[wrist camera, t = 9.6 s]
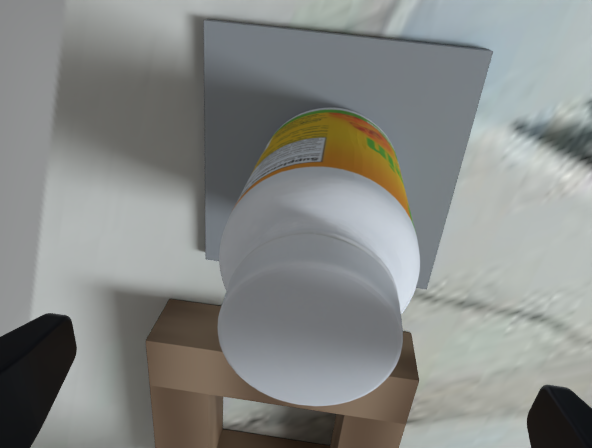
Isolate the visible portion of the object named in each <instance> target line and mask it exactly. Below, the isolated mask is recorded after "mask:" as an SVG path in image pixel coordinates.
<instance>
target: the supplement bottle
mask: <svg viewBox="0 0 592 448" xmlns="http://www.w3.org/2000/svg"><path fill="white" fill-rule="evenodd" d="M219 263H220V271H221V276H222V280H223V283H224V286H225V288H226V294H225V297H224V300H223V303H222V306H221V309H220V312H219V316H218V337H219V342H220V346H221V349H222V351H223V354H224V356H225V358H226V360H227V361H228V363H229V364H230V366H231V367H232V368H233V369H234V371H235V372H236V373H237V374H238V375H239V376H240V377H241V378H242V379H243V380H244V381H245V382H247V383H248V384H249V385H251V386H252V387H254V388H255V389H257V390H258V391H260V392H262V393H264V394H266V395H268V396H270V397H273V398H275V399H278V400H281V401H284V402H288V403H292V404H298V405H307V406H328V405H337V404H341V403H346V402H350V401H352V400H355V399H358V398H360V397H362V396H365V395H367V394H368V393H370V392H372V391H373V390H375V389H376V388H377V387H378V386H379V385H381V384H382V383H383V382H384V381H385V380H386V379H387V378H388V377H389V375H390V374H391V373H392V371H393V370H394V368H395V366H396V365H397V362H398V360H399V357H400V354H401V349H402V344H403V330H402V319H401V314H402V313H403V311H404V310H405V308H406V307H407V305H408V304H409V302H410V300H411V298H412V296H413V294H414V292H415V289H416V285H417V282H418V278H419V272H420V254H419V247H418V240H417V235H416V231H415V227H414V223H413V220H412V216H411V212H410V208H409V204H408V200H407V196H406V192H405V188H404V183H403V179H402V175H401V171H400V166H399V162H398V159H397V156H396V153H395V150H394V148H393V146H392V144H391V142H390V140H389V138H388V137H387V135H386V134H385V133H384V132H383V131H382V130H381V128H380V127H378V126H377V125H376V124H375V123H374V122H372V121H371V120H370V119H368V118H366V117H365V116H363V115H361V114H359V113H356V112H354V111H351V110H347V109H342V108H331V107H330V108H319V109H313V110H310V111H306V112H303V113H301V114H299V115H297V116H295V117H293V118H291V119H290V120H288V121H287V122H286V123H284V124H283V125H282V126H281V127H280V128H279V129H278V130H277V131H276V132H275V134H274V135H273V136H272V138H271V139H270V140H269V142H268V144H267V145H266V147H265V149H264V151H263V152H262V154H261V156H260V158H259V160H258V162H257V164H256V166H255V168H254V170H253V172H252V174H251V176H250V178H249V179H248V181H247V183H246V185H245V187H244V189H243V191H242V193H241V195H240V197H239V199H238V201H237V203H236V204H235V206H234V208H233V210H232V212H231V214H230V216H229V218H228V221H227V223H226V226H225V228H224V231H223V234H222V238H221V243H220V252H219Z"/></svg>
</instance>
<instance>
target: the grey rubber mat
mask: <svg viewBox="0 0 592 448" xmlns="http://www.w3.org/2000/svg"><path fill="white" fill-rule="evenodd" d="M492 54H493V51H491V50H489V49H479V48H470V47H461V46H452V45H442V44H433V43H424V42H414V41H405V40H396V39H387V38H377V37H368V36H359V35H349V34H340V33H331V32H321V31H312V30H303V29H294V28H284V27H275V26H266V25H256V24H247V23H238V22H228V21H219V20H210V19H207V20H204V112H205V244H206V259H208V260H215V261H219V252H220V243H221V238H222V234H223V231H224V228H225V226H226V223H227V221H228V218H229V216H230V214H231V212H232V210H233V208H234V206H235V204H236V203H237V201H238V199H239V197H240V195H241V193H242V191H243V189H244V187H245V185H246V183H247V181H248V179H249V178H250V176H251V174H252V172H253V170H254V168H255V166H256V164H257V162H258V160H259V158H260V156H261V154H262V152H263V151H264V149H265V147H266V145H267V144H268V142H269V140H270V139H271V138H272V136H273V135H274V134H275V132H276V131H277V130H278V129H279V128H280V127H281V126H282V125H283V124H284V123H286V122H287V121H288V120H290V119H291V118H293V117H295V116H297V115H299V114H301V113H303V112H306V111H310V110H313V109H319V108H330V107H331V108H342V109H347V110H351V111H354V112H356V113H359V114H361V115H363V116H365V117H366V118H368V119H370V120H371V121H372V122H374V123H375V124H376V125H377V126H378V127H380V128H381V130H382V131H383V132H384V133H385V134H386V135H387V137H388V138H389V140H390V142H391V144H392V146H393V148H394V150H395V153H396V156H397V159H398V162H399V166H400V171H401V175H402V179H403V183H404V188H405V192H406V196H407V200H408V204H409V208H410V212H411V216H412V220H413V223H414V227H415V231H416V235H417V240H418V247H419V254H420V272H419V278H418V282H417V285H416V288H421V289H427V286H428V283H429V279H430V275H431V272H432V268H433V265H434V261H435V257H436V254H437V250H438V247H439V243H440V240H441V236H442V232H443V229H444V225H445V222H446V218H447V215H448V211H449V207H450V204H451V200H452V197H453V193H454V189H455V186H456V182H457V179H458V175H459V172H460V168H461V164H462V161H463V157H464V154H465V150H466V147H467V143H468V139H469V136H470V132H471V129H472V125H473V121H474V118H475V114H476V111H477V107H478V104H479V100H480V96H481V93H482V89H483V86H484V82H485V79H486V75H487V71H488V68H489V64H490V61H491V57H492Z"/></svg>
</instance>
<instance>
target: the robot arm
mask: <svg viewBox="0 0 592 448" xmlns="http://www.w3.org/2000/svg"><path fill="white" fill-rule="evenodd" d="M76 350H77V347H76V341H75V336H74V330H73V325H72V321H71V319H70V317H69V316H66V315H60V314H53V313H48V314H45V315H42V316H40V317H38V318H36V319H34V320H32V321H30V322H29V323H27V324H25V325H23V326H21V327H19V328H17V329H15V330H13V331H11V332H9V333H7V334H5V335H3V336H1V337H0V448H30V447H31V445H32V443H33V442H34V440H35V438H36V436H37V435H38V433H39V431H40V429H41V427H42V425H43V423H44V421H45V419H46V417H47V415H48V413H49V411H50V409H51V407H52V405H53V403H54V401H55V399H56V397H57V394H58V392H59V390H60V388H61V386H62V384H63V382H64V380H65V378H66V376H67V374H68V371H69V369H70V367H71V365H72V363H73V361H74V359H75V356H76ZM527 428H528V433H529V439H530V444H531V448H592V408H591V407H589V406H588V405H587V404H586V403H585V402H584V401H583V400H582V399H581V398H579V397H578V396H577V395H576V394H575V393H574V392H573V391H571V390H570V389H568V388H566V387H560V386H553V385H544V386H543V387H542V388H541V389H540V391H539V393H538V395H537V397H536V399H535V401H534V403H533V405H532V407H531V409H530V411H529V413H528V417H527Z"/></svg>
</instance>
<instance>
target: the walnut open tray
mask: <svg viewBox="0 0 592 448" xmlns="http://www.w3.org/2000/svg"><path fill="white" fill-rule="evenodd" d="M220 309H221V306H216V305H209V304H202V303H195V302H188V301H181V300H174V299H169V301H168V302H167V304H166V306H165V308H164V309H163V311H162V313H161V315H160V316H159V318H158V320H157V322H156V323H155V325H154V327H153V329H152V330H151V332H150V334H149V336H148V337H147V339H146V350H147V361H148V372H149V383H150V394H151V404H152V415H153V426H154V437H155V448H399V445H400V442H401V438H402V435H403V432H404V428H405V425H406V422H407V419H408V415H409V412H410V409H411V406H412V402H413V399H414V396H415V393H416V389H417V386H418V383H419V377H418V371H417V365H416V359H415V353H414V347H413V341H412V335H411V333H407V332H403V344H402V349H401V354H400V357H399V360H398V362H397V365H396V366H395V368H394V370H393V371H392V373H391V374H390V375H389V377H388V378H387V379H386V380H385V381H384V382H383V383H382V384H381V385H379V386H378V387H377V388H376V389H375V390H373V391H372V392H370V393H368V394H367V395H365V396H362V397H360V398H358V399H355V400H352V401H350V402H346V403H341V404H337V405H328V406H307V405H298V404H292V403H288V402H284V401H281V400H278V399H275V398H273V397H270V396H268V395H266V394H264V393H262V392H260V391H258V390H257V389H255V388H254V387H252V386H251V385H249V384H248V383H247V382H245V381H244V380H243V379H242V378H241V377H240V376H239V375H238V374H237V373H236V372H235V371H234V369H233V368H232V367H231V366H230V364H229V363H228V361H227V360H226V358H225V356H224V354H223V351H222V349H221V346H220V342H219V337H218V316H219V312H220ZM223 397H230V398H236V399H243V400H249V401H256V402H263V403H269V404H276V405H282V406H289V407H295V408H302V409H309V410H315V411H322V412H328V413H335V414H336V418H335V423H334V429H333V434H332V439H331V444H330V446H328V445H321V444H315V443H308V442H302V441H296V440H289V439H283V438H276V437H270V436H263V435H257V434H251V433H244V432H238V431H231V430H225V429H223Z"/></svg>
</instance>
